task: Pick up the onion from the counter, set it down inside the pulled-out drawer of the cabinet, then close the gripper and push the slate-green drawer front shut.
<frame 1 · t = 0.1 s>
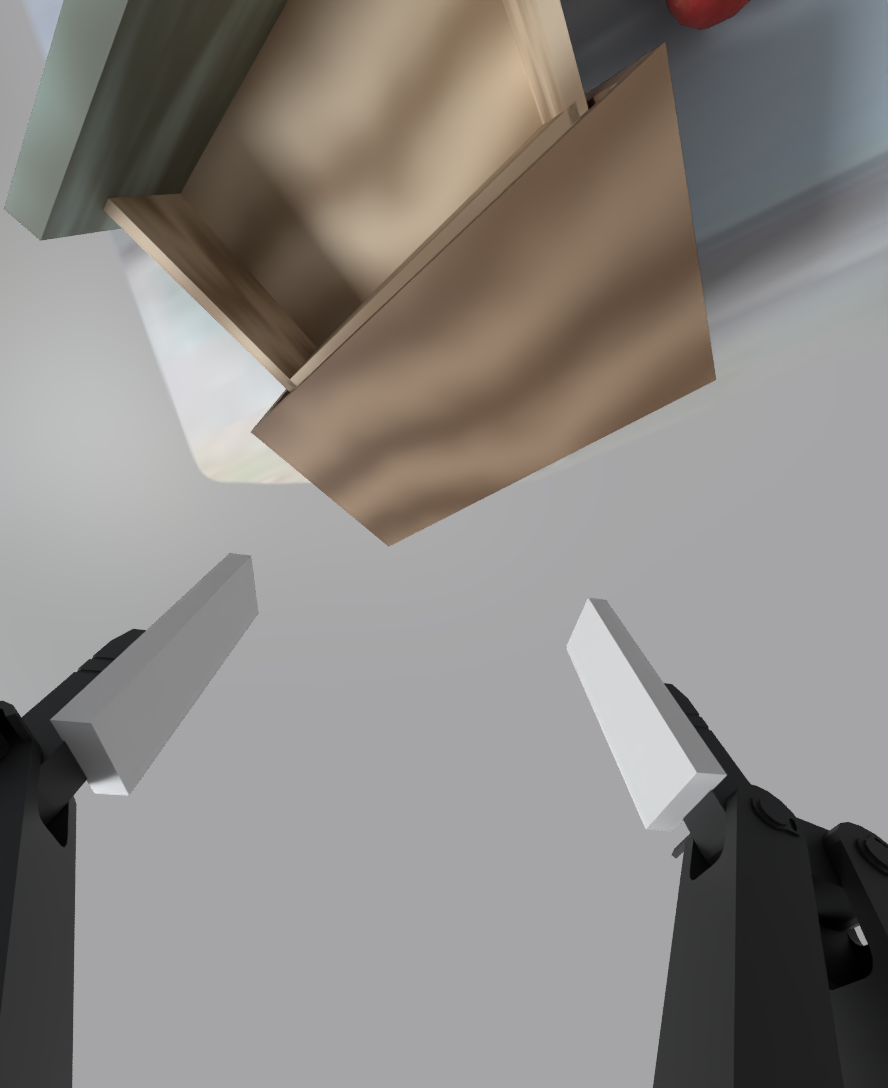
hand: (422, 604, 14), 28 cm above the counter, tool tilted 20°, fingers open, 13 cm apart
cabinet: (463, 337, 31), on the counter
drawer: (315, 133, 18), point 7 cm above the counter, slide at 12.0 cm
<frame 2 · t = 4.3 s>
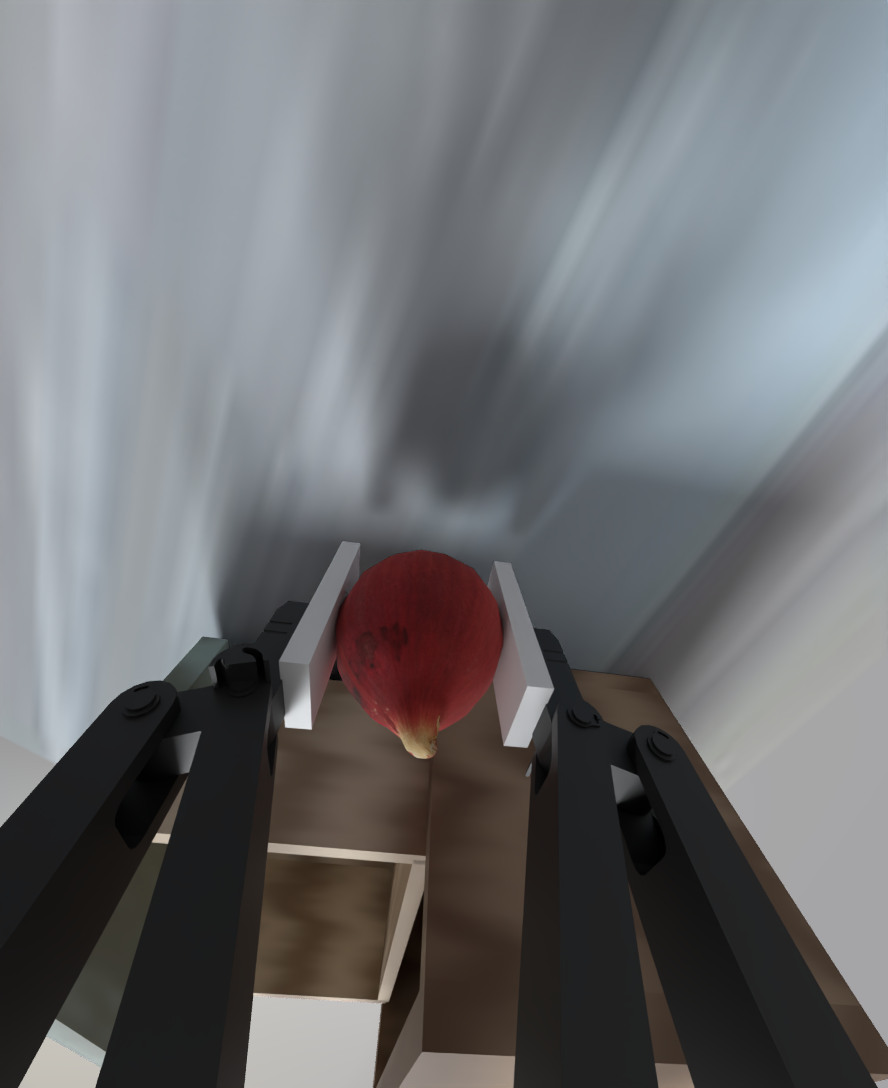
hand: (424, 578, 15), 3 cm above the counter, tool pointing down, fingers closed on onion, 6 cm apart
cabinet: (498, 780, 28), on the counter
drawer: (281, 881, 21), point 7 cm above the counter, slide at 12.0 cm
onion: (425, 572, 16), point 2 cm above the counter, touching gripper
when the fingers open (3 cm above the counter, at t = 10.1 s): onion stays where it is, resting on drawer.
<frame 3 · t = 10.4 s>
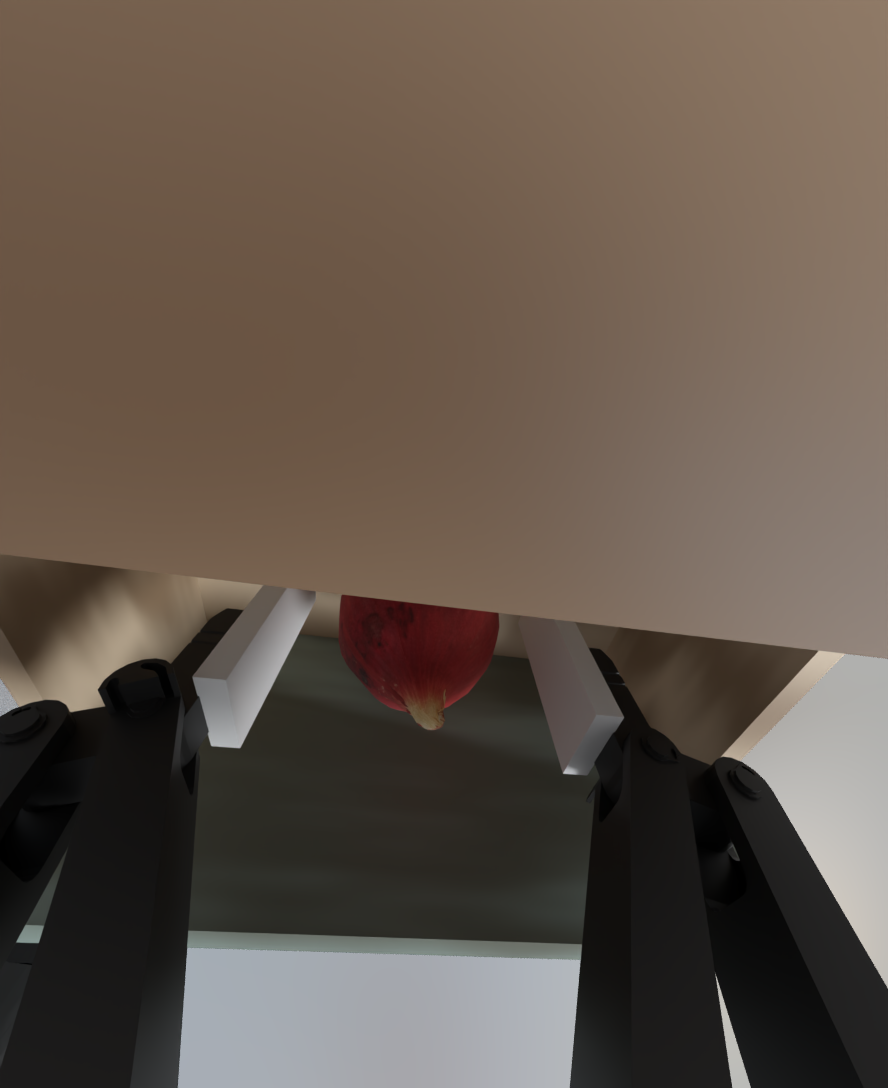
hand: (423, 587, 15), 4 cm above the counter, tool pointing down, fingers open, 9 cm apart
cabinet: (480, 185, 12), on the counter
drawer: (418, 644, 12), point 7 cm above the counter, slide at 12.0 cm, touching onion
onion: (419, 565, 16), point 2 cm above the counter, touching drawer
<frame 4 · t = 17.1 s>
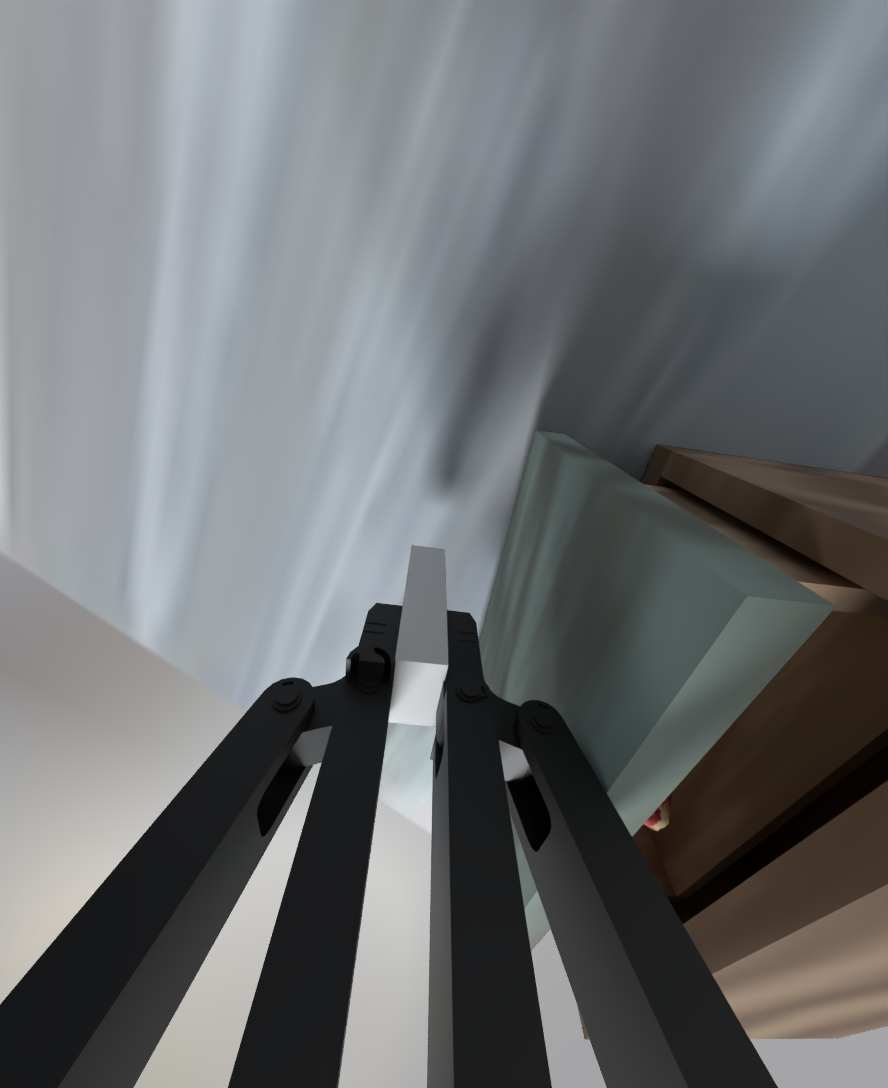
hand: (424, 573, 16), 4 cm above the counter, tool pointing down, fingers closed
cabinet: (669, 649, 24), on the counter
drawer: (615, 743, 17), point 7 cm above the counter, slide at 4.9 cm, touching onion
onion: (586, 663, 21), point 2 cm above the counter, touching drawer
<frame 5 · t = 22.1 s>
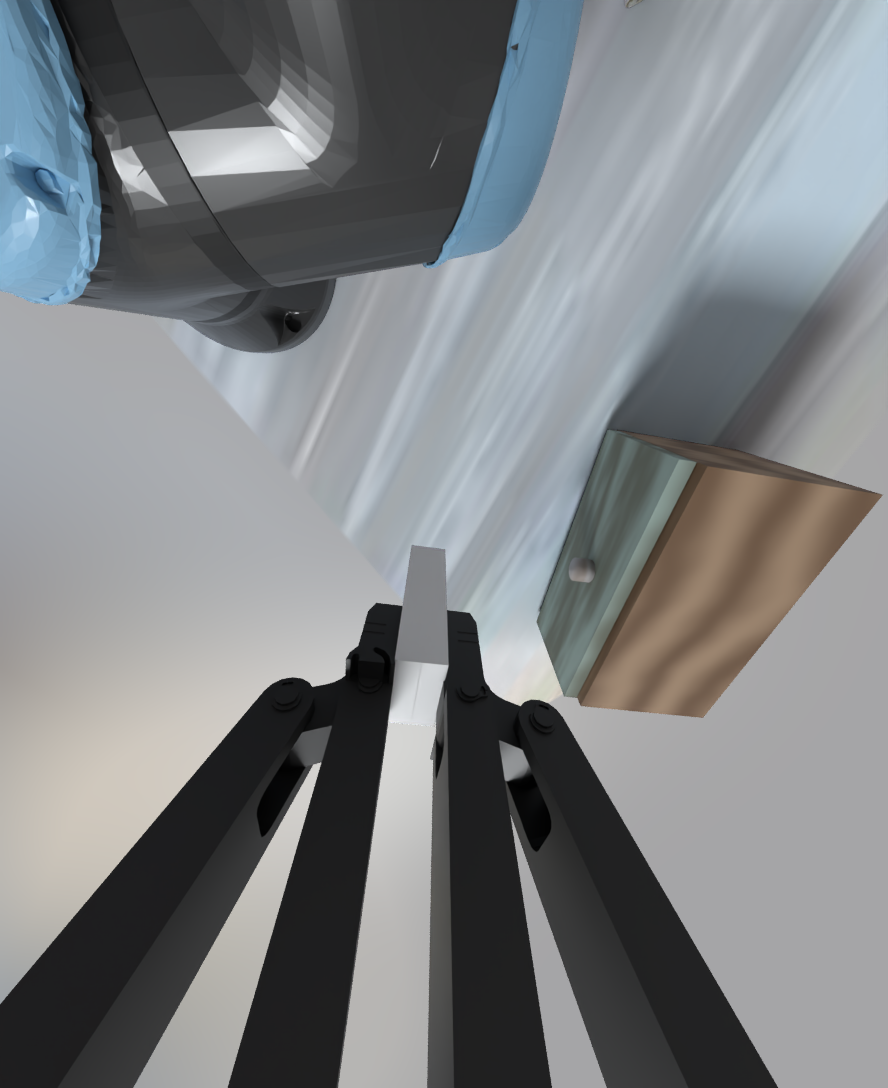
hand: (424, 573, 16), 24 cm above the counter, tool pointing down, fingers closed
cabinet: (628, 544, 43), on the counter
drawer: (640, 573, 37), point 7 cm above the counter, slide at 0.0 cm, touching onion
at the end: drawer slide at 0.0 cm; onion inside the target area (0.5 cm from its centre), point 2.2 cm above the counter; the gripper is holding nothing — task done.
